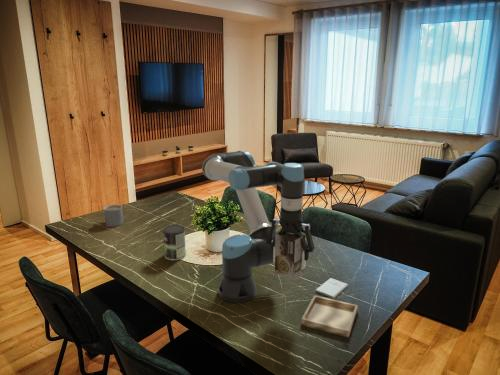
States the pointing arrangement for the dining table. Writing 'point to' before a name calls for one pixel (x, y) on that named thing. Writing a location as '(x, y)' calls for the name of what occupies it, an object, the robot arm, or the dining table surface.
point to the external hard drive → (331, 288)
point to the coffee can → (174, 242)
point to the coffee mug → (113, 215)
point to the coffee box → (288, 255)
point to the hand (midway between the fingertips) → (289, 264)
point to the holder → (330, 316)
